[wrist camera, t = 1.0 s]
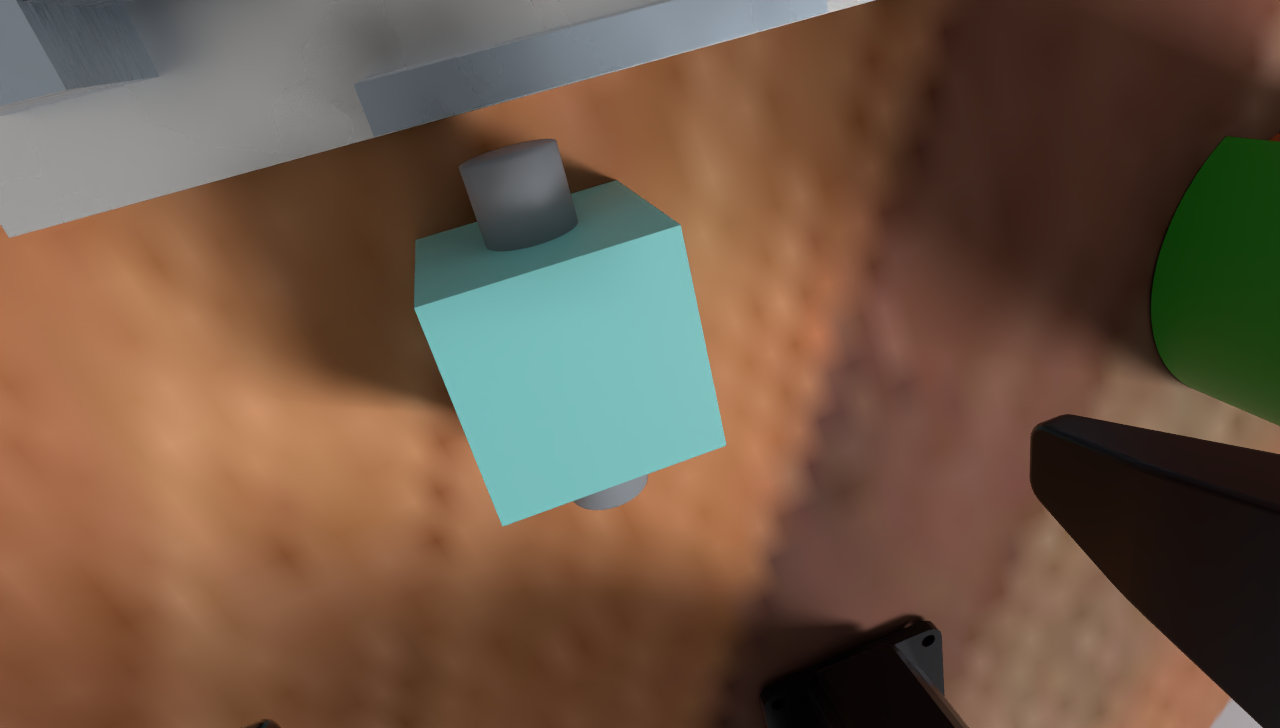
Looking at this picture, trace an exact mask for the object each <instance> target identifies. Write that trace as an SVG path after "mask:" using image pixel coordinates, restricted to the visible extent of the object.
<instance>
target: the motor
mask: <svg viewBox="0 0 1280 728" xmlns="http://www.w3.org/2000/svg"><path fill="white" fill-rule="evenodd" d="M1151 321H1152V329H1153V335H1154V339H1155V343H1156V346H1157V349H1158V352H1159V354H1160V356H1161V358H1162V360H1163V362H1164V364H1165V365H1166V367H1167V368H1168V369H1169V371H1170V372H1171V373H1172V374H1173V375H1174V376H1175V377H1176V378H1177V379H1178V380H1179V381H1181V382H1182V383H1183V384H1185V385H1187V386H1189V387H1191V388H1193V389H1195V390H1197V391H1200V392H1202V393H1204V394H1207V395H1209V396H1211V397H1214V398H1216V399H1218V400H1221V401H1223V402H1225V403H1228V404H1230V405H1232V406H1234V407H1237V408H1239V409H1241V410H1244V411H1246V412H1248V413H1251V414H1253V415H1255V416H1258V417H1260V418H1262V419H1265V420H1267V421H1269V422H1272V423H1274V424H1276V425H1279V426H1280V133H1278V134H1277V135H1275V136H1274V137H1273V138H1271V139H1270V140H1259V139H1249V138H1239V137H1229V136H1226V137H1225V138H1224V139H1223V140H1222V142H1221V143H1220V144H1219V145H1218V146H1217V147H1216V149H1215V150H1214V151H1213V153H1212V154H1211V155H1210V156H1209V158H1208V159H1207V160H1206V162H1205V163H1204V165H1203V166H1202V168H1201V169H1200V170H1199V172H1198V173H1197V175H1196V177H1195V178H1194V180H1193V181H1192V183H1191V184H1190V186H1189V188H1188V190H1187V191H1186V193H1185V195H1184V197H1183V199H1182V200H1181V202H1180V204H1179V206H1178V208H1177V210H1176V212H1175V215H1174V217H1173V219H1172V221H1171V223H1170V226H1169V228H1168V231H1167V233H1166V236H1165V239H1164V242H1163V244H1162V248H1161V251H1160V254H1159V258H1158V262H1157V265H1156V270H1155V275H1154V280H1153V287H1152V298H1151Z"/></svg>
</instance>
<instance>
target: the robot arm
mask: <svg viewBox="0 0 1280 728" xmlns="http://www.w3.org/2000/svg"><path fill="white" fill-rule="evenodd" d="M1030 483H1031V487H1032V489H1033V492H1034V493H1035V495H1036V497H1037V498H1038V500H1039V501H1040V502H1041V503H1042V504H1043V505H1044V507H1045V508H1046V509H1047V510H1048V511H1049V512H1050V513H1051V515H1052V516H1053V517H1054V518H1055V519H1056V520H1057V521H1058V522H1059V524H1060V525H1061V526H1062V527H1063V528H1064V529H1065V530H1066V532H1067V533H1068V534H1069V535H1070V536H1071V537H1072V538H1073V539H1074V541H1075V542H1076V543H1077V544H1078V545H1079V546H1080V547H1081V548H1082V550H1083V551H1084V552H1085V553H1086V554H1087V555H1088V556H1089V558H1090V559H1091V560H1092V561H1093V562H1094V563H1095V564H1096V565H1097V567H1098V568H1099V569H1100V570H1101V571H1102V572H1103V573H1104V574H1105V576H1106V577H1107V578H1108V579H1109V580H1110V581H1111V582H1112V583H1113V585H1114V586H1115V587H1116V588H1117V589H1118V590H1119V591H1120V592H1121V593H1122V594H1123V595H1124V596H1125V597H1126V598H1127V599H1128V600H1129V601H1130V602H1131V603H1132V604H1133V605H1134V606H1135V607H1136V608H1137V609H1138V610H1139V611H1140V612H1141V613H1142V614H1143V615H1144V616H1145V617H1146V618H1147V619H1148V620H1149V621H1150V622H1151V623H1152V624H1153V625H1154V626H1155V627H1156V628H1158V629H1159V630H1160V631H1161V632H1162V633H1163V634H1164V635H1165V636H1166V637H1167V638H1168V639H1169V640H1170V641H1171V642H1172V643H1173V644H1175V645H1176V646H1177V647H1178V648H1179V649H1180V650H1181V651H1182V652H1183V653H1184V654H1185V655H1186V656H1187V657H1188V658H1189V659H1190V660H1192V661H1193V662H1194V663H1195V664H1196V665H1197V666H1198V667H1199V668H1200V669H1201V670H1202V671H1203V672H1204V673H1205V674H1206V675H1207V676H1209V677H1210V678H1211V679H1212V680H1213V681H1214V682H1215V683H1216V684H1217V685H1218V686H1219V687H1220V688H1221V689H1222V690H1223V691H1224V692H1226V693H1227V694H1228V695H1229V696H1230V697H1231V698H1232V699H1233V700H1234V701H1235V702H1236V703H1237V704H1238V705H1239V706H1240V707H1242V708H1243V709H1244V710H1245V711H1246V712H1247V713H1248V714H1249V715H1250V716H1251V717H1252V718H1253V719H1254V720H1255V721H1256V722H1257V723H1258V724H1260V725H1261V726H1262V727H1263V728H1280V454H1275V453H1270V452H1265V451H1260V450H1254V449H1249V448H1244V447H1239V446H1233V445H1228V444H1223V443H1218V442H1212V441H1207V440H1202V439H1197V438H1192V437H1186V436H1181V435H1176V434H1171V433H1165V432H1160V431H1155V430H1150V429H1144V428H1139V427H1134V426H1129V425H1123V424H1118V423H1113V422H1108V421H1103V420H1097V419H1092V418H1087V417H1082V416H1076V415H1070V414H1066V415H1060V416H1058V417H1055V418H1052V419H1050V420H1047V421H1044V422H1042V423H1039V424H1037V425H1036V426H1035V427H1034V429H1033V430H1032V432H1031V441H1030ZM759 700H760V705H761V709H762V714H763V718H764V722H765V727H766V728H969V727H968V726H967V725H966V723H965V722H964V721H963V719H962V718H961V717H960V716H959V714H958V713H957V712H956V711H955V709H954V708H953V707H952V706H951V704H950V703H949V702H948V701H947V699H946V698H945V697H944V677H943V656H942V635H941V632H940V631H939V630H938V629H937V628H936V626H935V625H934V624H933V623H932V622H930V621H922V622H919V623H917V624H914V625H912V626H910V627H907V628H905V629H902V630H900V631H898V632H895V633H893V634H890V635H888V636H886V637H883V638H881V639H878V640H876V641H874V642H871V643H869V644H866V645H864V646H862V647H859V648H857V649H854V650H852V651H850V652H847V653H845V654H842V655H840V656H838V657H835V658H833V659H830V660H828V661H826V662H823V663H821V664H819V665H816V666H814V667H811V668H809V669H807V670H804V671H802V672H799V673H797V674H795V675H792V676H790V677H787V678H785V679H783V680H780V681H778V682H775V683H773V684H771V685H769V686H767V687H766V688H765V689H764V690H763V691H762V692H761V694H760V699H759ZM241 728H280V726H279V725H278V724H277V723H276V722H275V721H273V720H271V719H263V720H260V721H257V722H254V723H252V724H249V725H247V726H244V727H241Z"/></svg>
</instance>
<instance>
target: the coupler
mask: <svg viewBox="0 0 1280 728" xmlns="http://www.w3.org/2000/svg"><path fill="white" fill-rule="evenodd" d="M459 170H460V173H461V176H462V178H463V181H464V184H465V187H466V190H467V193H468V196H469V199H470V202H471V205H472V208H473V211H474V214H475V217H476V220H477V222H474V223H471V224H467V225H464V226H461V227H457V228H454V229H451V230H447V231H444V232H441V233H437V234H434V235H431V236H427V237H424V238H420V239H417V240H415V287H414V309H415V312H416V314H417V317H418V319H419V322H420V324H421V326H422V329H423V331H424V334H425V336H426V339H427V341H428V344H429V346H430V349H431V351H432V354H433V356H434V359H435V361H436V363H437V366H438V368H439V371H440V373H441V376H442V378H443V381H444V383H445V386H446V388H447V391H448V393H449V396H450V398H451V400H452V403H453V405H454V408H455V410H456V413H457V415H458V418H459V420H460V423H461V425H462V428H463V430H464V433H465V435H466V437H467V440H468V442H469V445H470V447H471V450H472V452H473V455H474V457H475V460H476V462H477V465H478V467H479V470H480V472H481V474H482V477H483V479H484V482H485V484H486V487H487V489H488V492H489V494H490V497H491V499H492V502H493V504H494V507H495V509H496V511H497V514H498V516H499V519H500V521H501V524H502V526H505V525H508V524H511V523H514V522H517V521H519V520H522V519H525V518H528V517H530V516H533V515H536V514H539V513H541V512H544V511H547V510H550V509H552V508H555V507H558V506H561V505H563V504H566V503H569V502H572V501H574V503H575V504H577V505H578V506H580V507H582V508H585V509H589V510H605V509H610V508H614V507H617V506H620V505H622V504H625V503H626V502H628V501H630V500H632V499H633V498H634V497H636V496H637V495H638V494H639V493H640V492H641V491H642V490H643V488H644V487H645V485H646V483H647V479H648V474H649V473H652V472H654V471H657V470H660V469H663V468H666V467H668V466H671V465H674V464H677V463H679V462H682V461H685V460H688V459H690V458H693V457H696V456H699V455H701V454H704V453H707V452H710V451H712V450H715V449H718V448H721V447H723V446H726V441H725V436H724V432H723V427H722V422H721V417H720V412H719V407H718V403H717V398H716V393H715V388H714V383H713V379H712V374H711V369H710V364H709V359H708V354H707V350H706V345H705V340H704V335H703V330H702V326H701V321H700V316H699V311H698V306H697V301H696V297H695V292H694V287H693V282H692V277H691V273H690V268H689V263H688V258H687V253H686V248H685V244H684V239H683V234H682V229H681V225H680V224H679V223H677V222H676V221H674V220H673V219H671V218H670V217H669V216H667V215H666V214H664V213H663V212H661V211H660V210H659V209H657V208H656V207H654V206H653V205H652V204H650V203H649V202H647V201H646V200H644V199H643V198H642V197H640V196H639V195H637V194H636V193H634V192H633V191H632V190H630V189H629V188H627V187H626V186H625V185H623V184H622V183H620V182H619V181H617V180H615V181H612V182H609V183H605V184H602V185H598V186H595V187H592V188H588V189H585V190H582V191H578V192H575V193H572V194H571V193H570V189H569V186H568V182H567V178H566V175H565V171H564V167H563V164H562V160H561V156H560V153H559V149H558V145H557V142H556V140H554V139H540V140H533V141H527V142H522V143H518V144H513V145H509V146H506V147H502V148H499V149H495V150H492V151H489V152H486V153H484V154H481V155H478V156H476V157H473V158H471V159H469V160H467V161H465V162H464V163H462V164H461V165H460V166H459Z"/></svg>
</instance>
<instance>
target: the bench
mask: <svg viewBox="0 0 1280 728" xmlns="http://www.w3.org/2000/svg"><path fill="white" fill-rule="evenodd" d="M871 1H874V0H0V224H1V226H2V227H3V229H4V230H5V232H6V233H7V235H8V237H9V238H10V237H14V236H18V235H21V234H25V233H29V232H32V231H36V230H39V229H43V228H47V227H50V226H54V225H58V224H61V223H65V222H69V221H72V220H76V219H80V218H83V217H87V216H91V215H94V214H98V213H101V212H105V211H109V210H112V209H116V208H120V207H123V206H127V205H131V204H134V203H138V202H142V201H145V200H149V199H152V198H156V197H160V196H163V195H167V194H171V193H174V192H178V191H182V190H185V189H189V188H193V187H196V186H200V185H204V184H207V183H211V182H214V181H218V180H222V179H225V178H229V177H233V176H236V175H240V174H244V173H247V172H251V171H255V170H258V169H262V168H265V167H269V166H273V165H276V164H280V163H284V162H287V161H291V160H295V159H298V158H302V157H306V156H309V155H313V154H316V153H320V152H324V151H327V150H331V149H335V148H338V147H342V146H346V145H349V144H353V143H357V142H360V141H364V140H368V139H371V138H375V137H378V136H382V135H386V134H389V133H393V132H397V131H400V130H404V129H408V128H411V127H415V126H419V125H422V124H426V123H429V122H433V121H437V120H440V119H444V118H448V117H451V116H455V115H459V114H462V113H466V112H470V111H473V110H477V109H481V108H484V107H488V106H491V105H495V104H499V103H502V102H506V101H510V100H513V99H517V98H521V97H524V96H528V95H532V94H535V93H539V92H542V91H546V90H550V89H553V88H557V87H561V86H564V85H568V84H572V83H575V82H579V81H583V80H586V79H590V78H594V77H597V76H601V75H604V74H608V73H612V72H615V71H619V70H623V69H626V68H630V67H634V66H637V65H641V64H645V63H648V62H652V61H655V60H659V59H663V58H666V57H670V56H674V55H677V54H681V53H685V52H688V51H692V50H696V49H699V48H703V47H707V46H710V45H714V44H717V43H721V42H725V41H728V40H732V39H736V38H739V37H743V36H747V35H750V34H754V33H758V32H761V31H765V30H768V29H772V28H776V27H779V26H783V25H787V24H790V23H794V22H798V21H801V20H805V19H809V18H812V17H816V16H819V15H823V14H827V13H830V12H834V11H838V10H841V9H845V8H849V7H852V6H856V5H860V4H863V3H867V2H871Z"/></svg>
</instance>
